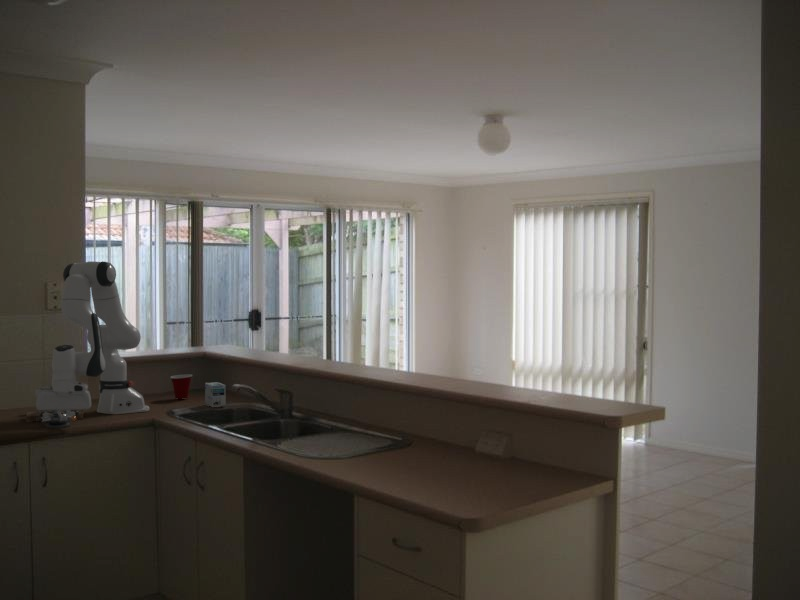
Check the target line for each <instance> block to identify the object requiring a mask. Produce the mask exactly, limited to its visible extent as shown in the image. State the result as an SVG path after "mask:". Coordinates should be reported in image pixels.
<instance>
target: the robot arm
mask: <svg viewBox="0 0 800 600" xmlns="http://www.w3.org/2000/svg"><path fill="white" fill-rule="evenodd" d="M116 276H117V270H116V268H115V266H114V265H113V264H112V263H111V262H108V261H84V262H73V263H70V264H68V265H66V266H65V268H64V269H63V273H62V277H63V280H64V284H63V289H62V295H61V305H60V306H61V313H62V315H63V317H65V318H66V319H67V320H68V321H70V322H72V323H75V324H77V325H79V326H82V327H83V328H85V329H86V330H87V334H86V339H87V343H88V344H89V347H90V351H88V352H87V351H86V352H85V351H81V352H80V351H76V349H75V346H72V345H71V344H63V345H58V346H56V347H55V348H54V349H53V352H52V360H51V361H52V363H51V370H52V377H51V386H39V387H38V388H36V390H35V397H36V403H35V409H36V410H37V411H40V410H57V414H58V415H59V417H60V421H67V422H69V420H68V415H69V414H70V412H71V410H77V409H83V410H89V409H91V408H92V396H91V392H90V391H89V390H88V389H89V384H88V383H84V382H80V381H78V380H77V376H78V377H79V376H80V377H83V376H85V377H86V376H87V377H93V378H96V377H97V378H98V377H99V376H100V380H99V383H98V384H99V386H98V388H99V400H98V405H97V407H96V408H97V409H96V412H97V413H99V414H110V415H121V414H133V413H142V412H143V413H144V412H145V413H146V412H148V411H150V406H149V405H146V404H145V399H144V396H143V394H141V393H140V392H138V391H137V390H135V389H134V388H133V387H132V386H133V385H134V382H133V381H132V380H129V379H128V378H127V377H128V376H127V372H128V370H127V367H128V366H127V365H128V364H127V361H126V360H125V359H124V358H123V357H122V356H121V355H120V354H119V351H118V350H121V351H127V350H133V349H136V348H137V347H138V346H139V345H140V343H141V339H142V337H141V333H140V331H139V329H138V328H136V327H135V326H134V324H132V323H131V321H129V320H128V318H127V317H126V315H125V313H124V311H123V308H122V304H121V300H120V295H119V294H120V293H119V291H118V287H117V283H116V278H117V277H116ZM91 298H92V300H91ZM91 301H92V302H93V307H94V308H93V309H94V311H95V312H94V311H93V309H92V305H91ZM99 319H100V320H101V321H103V323H104V324H100V320H99ZM62 410H66V412H68V413H67V415H66V416H62V414H61V413H60V412H62Z"/></svg>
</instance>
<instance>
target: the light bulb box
mask: <svg viewBox="0 0 800 600" xmlns="http://www.w3.org/2000/svg"><path fill="white" fill-rule="evenodd" d="M226 386H227V385H226V384H223V383H221V382H218V381H216V382H205V383H204V404H205V403H206V404H209V405H211V406H216V405H225V404H226V399H227V398H226V397H227V394H226V393H227V392H226Z"/></svg>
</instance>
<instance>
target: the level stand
mask: <svg viewBox="0 0 800 600" xmlns="http://www.w3.org/2000/svg"><path fill="white" fill-rule="evenodd" d="M73 411H75V410H71V412H73ZM76 411H78V412H79V413H78V415H77V416H75V417H76V420H84V418H85V417H84V414H85V413H84V409H76ZM41 412H45V413H53V412H57V411H51V410H47V411H40V410H39V411H28V412H27V411H26V415H25V418H26V419H25V423H34V422H33V421H36V419H37V418H39V417H40V418H42V417H41V416H40V413H41ZM62 412H64V413H68V412H66V410H62Z"/></svg>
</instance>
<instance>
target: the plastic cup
mask: <svg viewBox="0 0 800 600" xmlns="http://www.w3.org/2000/svg"><path fill="white" fill-rule="evenodd" d="M192 377H193V374H189V373H188V374H187V373H186V374H176V375H171V376H170V377H169V378H170V380H171V382H172V387H173V392H174V398H175V399H176V398H178V399H182V398H188V399H189V393H190V388H191V382H192Z"/></svg>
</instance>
